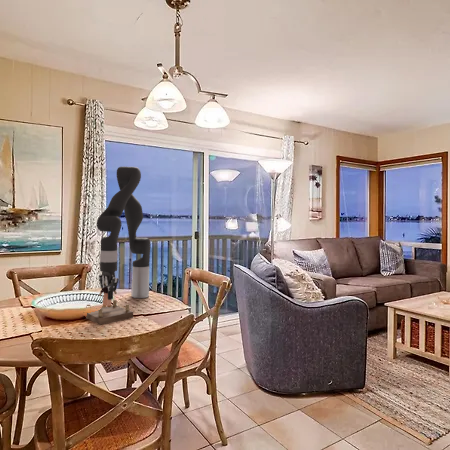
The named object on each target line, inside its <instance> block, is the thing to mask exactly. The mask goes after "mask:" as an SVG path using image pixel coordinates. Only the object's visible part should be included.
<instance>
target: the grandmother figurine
mask: <svg viewBox="0 0 450 450" xmlns="http://www.w3.org/2000/svg"><path fill="white" fill-rule="evenodd" d="M109 284H111V283H109ZM105 285H106V280H105ZM113 294H115V295H117V294H118V293H117V289H116V290H114V291H113ZM102 295H103V296H102ZM98 296H99V297H101V296H102V306H101V308H106V307H112V306H113V304H112V303H113V299H111V300H108V287H107V286H105V287H103V288H101V290H100V292H99V293H98Z"/></svg>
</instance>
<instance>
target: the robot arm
mask: <svg viewBox="0 0 450 450" xmlns="http://www.w3.org/2000/svg"><path fill="white" fill-rule="evenodd" d="M141 179H142V172H141V169H140V168H139V167H137V166H119V167H117V169H116V180H117V184H118V188H119V191H118V192H116V193H115V194H114V195H113V196H112V197H111V199H110V202H109V203H108V205H107V207H106V208H105V210H103V212H102V213H101V214H100V215H99V216H98V218H97V221H96V229H98V231H100V232H104V233H105V232H106V233H108V232H109V233H110V234H109V236H104V237H102V238H101V239H100V253H99V271H100V272H101V273H102V274H99V275H98V279H99V285H100V288H101V289H103V287H105V286H107V287H108V300H111V299H112V300H114V292H113V291H114V290H116V291H117V287H118V284H119V277H116V272H117V271H118V258H119V256H118V240H119V235H120V232H121V229H122V220H121V218H120V217H121V216H122V215H123V212H124V218H125V222H126V226H127V231H128V242H129V250H130V252H131V254H134V255H142V256H141V257H140V258H138V259H135V260H133V261H132V272H131V273H132V276H131V278H132V279H131V297H132V298H134V299H145V298H148V297H150V262H151V261H150V260H151V258H150V257H151V240H150V238H148V237H137V231H138V230H139V227H140V225H141V224H142V221H143V219H144V213H143V207H142V204H141V203H140V202H139V200H138V199H137V197H136V196H135V195H134V194H133V193H134V192H135V190H136V189H137V187H138V185H140V184H139V183H140V182H141ZM105 280H106V285H105ZM109 283H111V284H109Z"/></svg>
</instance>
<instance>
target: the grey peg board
mask: <svg viewBox="0 0 450 450" xmlns="http://www.w3.org/2000/svg"><path fill="white" fill-rule="evenodd" d="M117 302H118V301H117V299H112V307H107V306H106V308H102V307H100V308H101V309H100V310H98V311H95V312H91V313H87V316H86V318H85V319H87V320H89V321H91V322H93V323H96V324H97V325H99V326H100V325H104V324H105V325H106V324H109V323H114V322H118V321H123V320H127V319H131V318H132V319H133V318H134V311H133V310H131V309H130V303H128V304H125V308H124V307H121V306H119V305H117ZM87 306H90V307H91V304H86V307H87Z"/></svg>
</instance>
